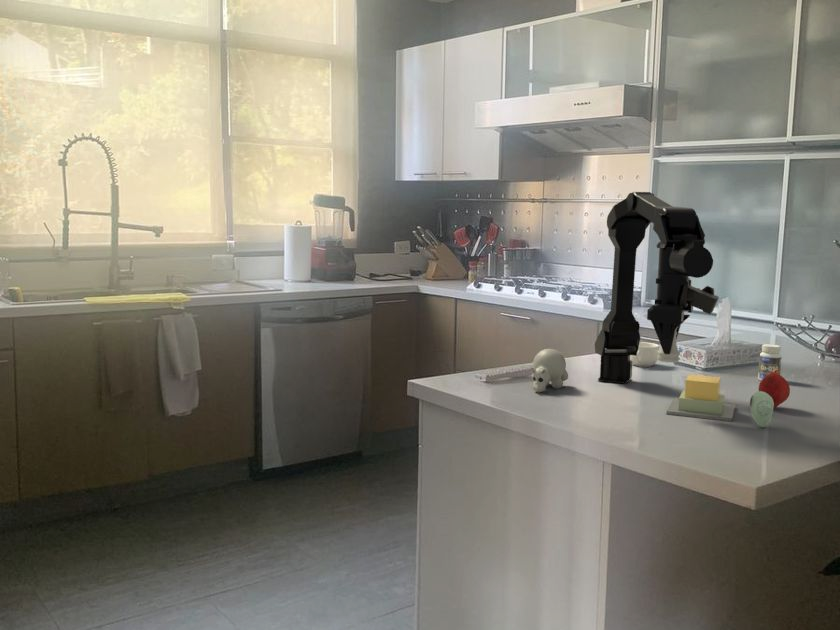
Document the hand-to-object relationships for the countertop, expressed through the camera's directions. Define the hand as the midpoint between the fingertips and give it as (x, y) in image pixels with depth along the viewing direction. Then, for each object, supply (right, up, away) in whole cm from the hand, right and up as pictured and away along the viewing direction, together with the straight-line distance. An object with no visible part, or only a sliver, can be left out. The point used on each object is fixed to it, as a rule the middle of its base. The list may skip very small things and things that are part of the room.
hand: (668, 352), depth 158 cm
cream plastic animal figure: (-21, -9, +20) cm, 31 cm away
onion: (+23, -12, +5) cm, 26 cm away
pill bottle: (+34, -8, +32) cm, 47 cm away
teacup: (+8, -6, +48) cm, 49 cm away
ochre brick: (+7, -9, +2) cm, 12 cm away
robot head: (+14, -14, -9) cm, 22 cm away
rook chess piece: (0, -2, 0) cm, 2 cm away
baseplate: (+7, -12, +2) cm, 14 cm away
